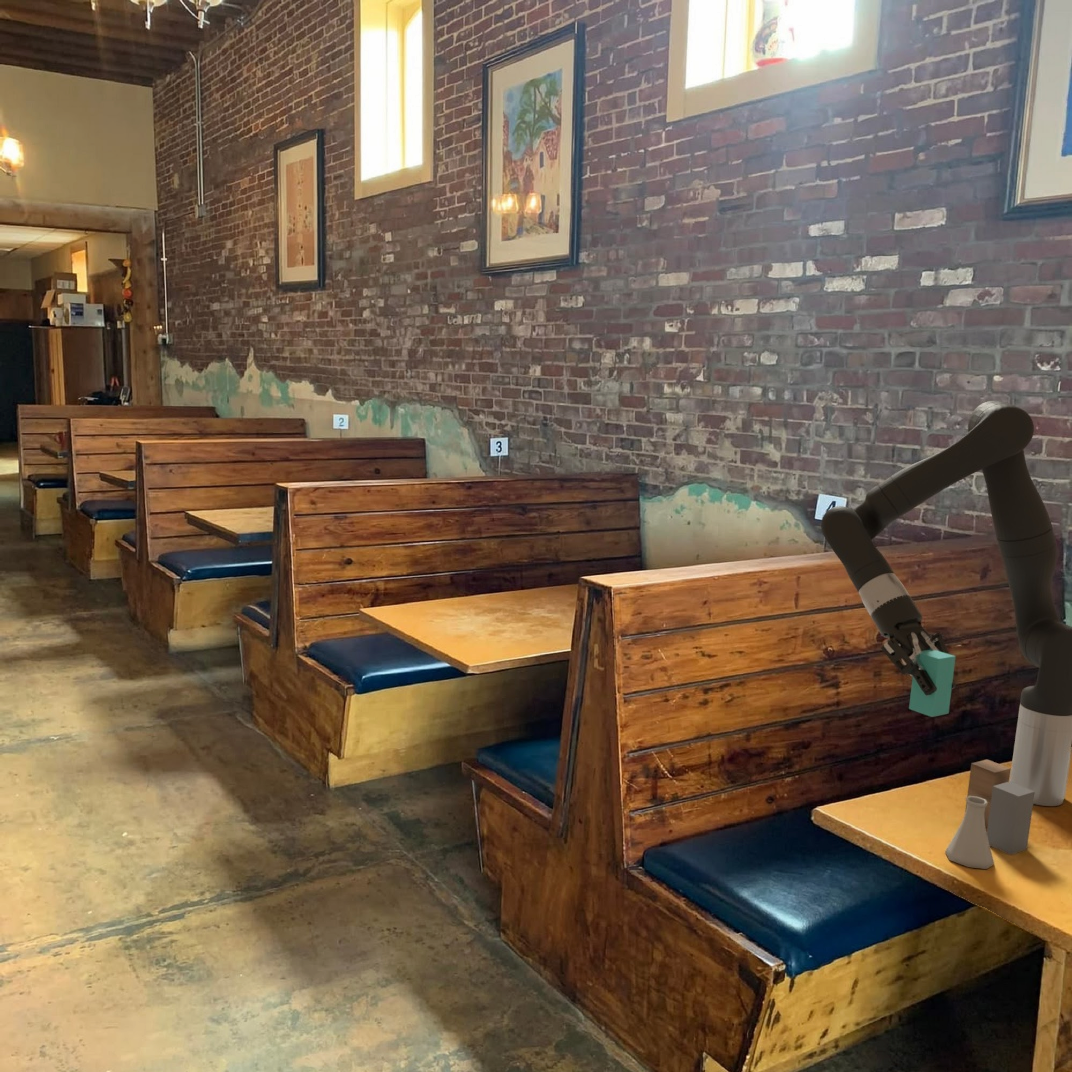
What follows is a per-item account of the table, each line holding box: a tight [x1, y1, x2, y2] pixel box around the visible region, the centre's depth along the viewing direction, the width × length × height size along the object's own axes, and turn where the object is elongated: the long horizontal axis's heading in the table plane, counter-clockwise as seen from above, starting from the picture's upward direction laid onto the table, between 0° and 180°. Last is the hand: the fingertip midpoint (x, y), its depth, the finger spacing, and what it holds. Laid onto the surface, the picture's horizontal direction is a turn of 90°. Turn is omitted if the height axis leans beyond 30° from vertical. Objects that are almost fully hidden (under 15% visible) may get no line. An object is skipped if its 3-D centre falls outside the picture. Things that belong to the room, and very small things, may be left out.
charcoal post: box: [986, 781, 1035, 856], centre depth 163 cm, size 4×4×10 cm
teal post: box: [908, 650, 956, 718], centre depth 167 cm, size 4×4×10 cm
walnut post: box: [964, 759, 1011, 828], centre depth 173 cm, size 4×4×10 cm
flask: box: [944, 796, 995, 870], centre depth 157 cm, size 7×7×10 cm
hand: (941, 690), depth 166 cm, fingers closed on teal post, 4 cm apart
